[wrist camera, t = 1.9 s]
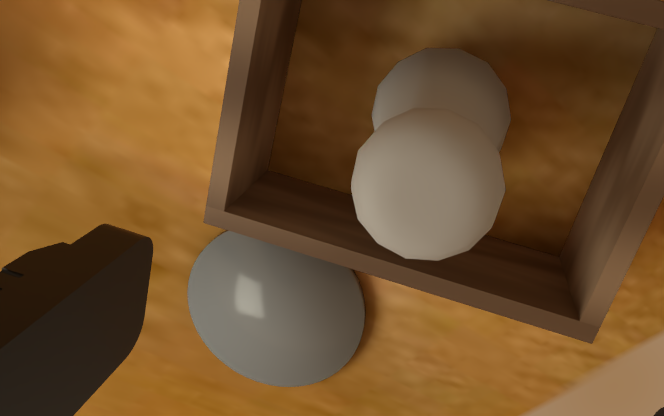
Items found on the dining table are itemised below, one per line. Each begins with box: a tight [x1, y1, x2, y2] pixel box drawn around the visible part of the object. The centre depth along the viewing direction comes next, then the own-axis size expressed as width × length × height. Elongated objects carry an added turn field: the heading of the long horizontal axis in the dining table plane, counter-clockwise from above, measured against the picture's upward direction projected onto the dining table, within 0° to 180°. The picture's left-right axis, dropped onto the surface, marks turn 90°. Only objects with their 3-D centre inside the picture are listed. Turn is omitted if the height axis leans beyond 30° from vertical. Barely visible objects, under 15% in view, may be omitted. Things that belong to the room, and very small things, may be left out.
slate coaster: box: [188, 230, 366, 387], centre depth 33 cm, size 10×10×1 cm
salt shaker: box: [351, 48, 511, 261], centre depth 22 cm, size 6×6×13 cm
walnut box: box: [204, 0, 664, 344], centre depth 25 cm, size 13×17×6 cm
